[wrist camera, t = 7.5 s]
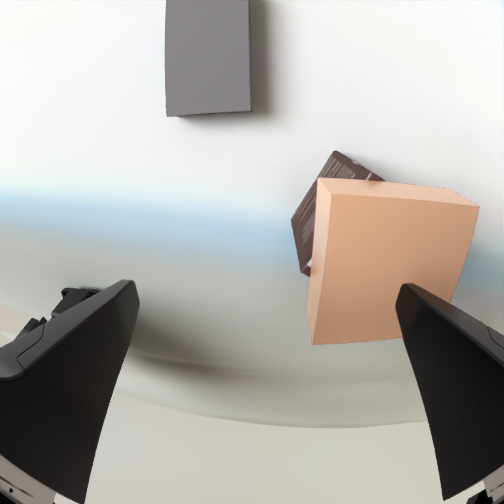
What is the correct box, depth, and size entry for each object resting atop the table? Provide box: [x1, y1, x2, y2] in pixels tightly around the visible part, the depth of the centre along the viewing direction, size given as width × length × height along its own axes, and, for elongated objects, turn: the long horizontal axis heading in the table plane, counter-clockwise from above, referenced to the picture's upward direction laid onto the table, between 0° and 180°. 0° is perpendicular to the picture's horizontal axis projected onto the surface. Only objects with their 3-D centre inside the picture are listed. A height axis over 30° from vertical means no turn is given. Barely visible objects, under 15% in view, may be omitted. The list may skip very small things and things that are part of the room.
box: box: [291, 151, 386, 277], centre depth 16 cm, size 6×6×7 cm
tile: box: [306, 178, 479, 345], centre depth 12 cm, size 7×7×2 cm
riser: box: [165, 0, 251, 117], centre depth 13 cm, size 9×5×2 cm, turn 1°
